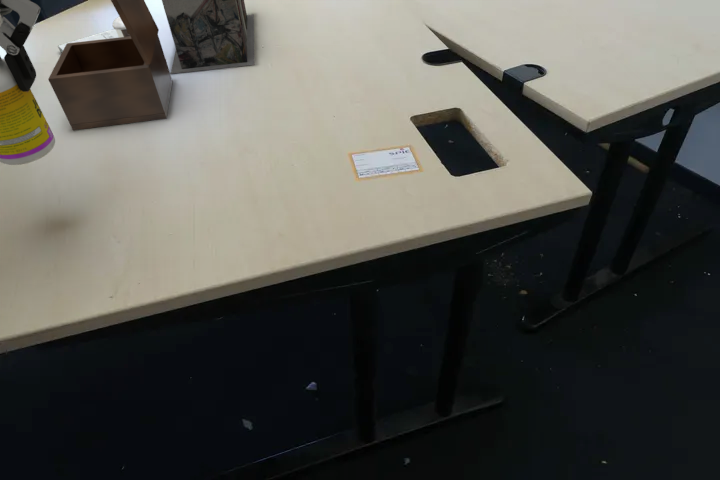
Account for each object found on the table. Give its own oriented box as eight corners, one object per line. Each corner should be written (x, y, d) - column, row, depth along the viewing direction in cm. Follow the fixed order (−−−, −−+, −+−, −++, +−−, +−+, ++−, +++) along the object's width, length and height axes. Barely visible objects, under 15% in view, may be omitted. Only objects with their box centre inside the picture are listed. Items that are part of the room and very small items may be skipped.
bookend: (253, 14, 119) (239, -67, 107) (254, 64, 101) (237, -27, 89) (181, 21, 117) (159, -60, 106) (170, 73, 99) (141, -18, 88)
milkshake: (146, 72, 100) (128, 18, 93) (122, 68, 102) (103, 16, 95) (160, 61, 103) (143, 9, 96) (137, 58, 105) (119, 6, 98)
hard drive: (60, 52, 108) (119, 34, 114) (73, 65, 104) (134, 45, 109) (57, 44, 107) (116, 26, 113) (70, 57, 103) (131, 38, 108)
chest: (72, 130, 87) (47, 79, 80) (88, 91, 96) (66, 43, 90) (166, 118, 88) (149, 67, 82) (172, 81, 97) (157, 33, 91)
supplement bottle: (67, 148, 63) (16, 43, 54) (11, 175, 59) (-54, 67, 50) (41, 128, 66) (-11, 26, 57) (-14, 152, 63) (-79, 47, 54)
